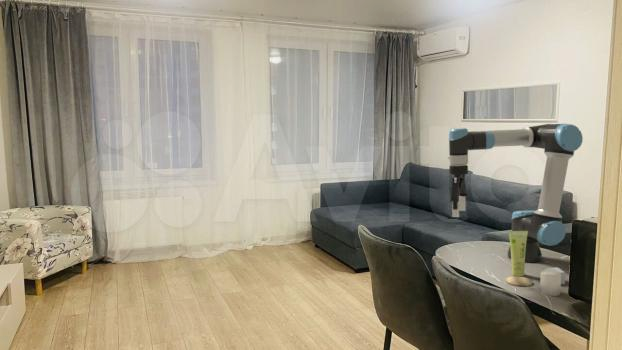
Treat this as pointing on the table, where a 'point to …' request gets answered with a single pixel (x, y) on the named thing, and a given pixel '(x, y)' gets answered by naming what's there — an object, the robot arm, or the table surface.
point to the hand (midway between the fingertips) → (459, 213)
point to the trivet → (519, 281)
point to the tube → (518, 251)
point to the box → (558, 271)
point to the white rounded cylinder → (550, 282)
